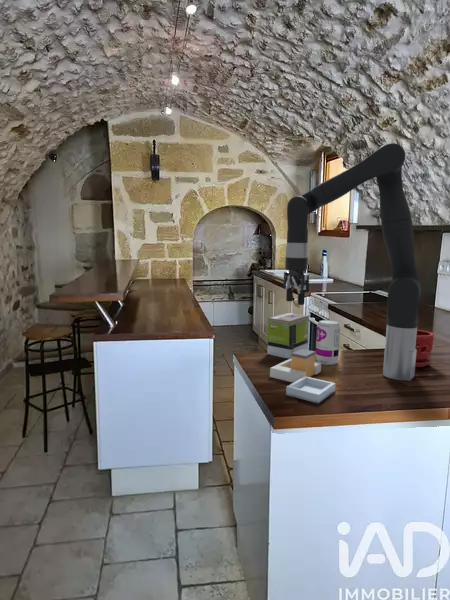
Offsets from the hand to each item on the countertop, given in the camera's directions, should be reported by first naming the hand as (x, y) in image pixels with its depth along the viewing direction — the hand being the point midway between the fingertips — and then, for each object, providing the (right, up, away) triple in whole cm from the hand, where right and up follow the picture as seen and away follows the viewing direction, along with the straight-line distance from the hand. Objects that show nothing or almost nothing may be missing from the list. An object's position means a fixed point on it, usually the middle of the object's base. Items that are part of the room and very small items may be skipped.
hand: (295, 302), depth 150 cm
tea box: (0, -20, +19) cm, 28 cm away
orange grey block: (+1, -24, -8) cm, 25 cm away
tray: (+1, -26, -24) cm, 35 cm away
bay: (-1, -24, -7) cm, 25 cm away
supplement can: (+13, -22, +8) cm, 27 cm away
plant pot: (+44, -23, +9) cm, 50 cm away
